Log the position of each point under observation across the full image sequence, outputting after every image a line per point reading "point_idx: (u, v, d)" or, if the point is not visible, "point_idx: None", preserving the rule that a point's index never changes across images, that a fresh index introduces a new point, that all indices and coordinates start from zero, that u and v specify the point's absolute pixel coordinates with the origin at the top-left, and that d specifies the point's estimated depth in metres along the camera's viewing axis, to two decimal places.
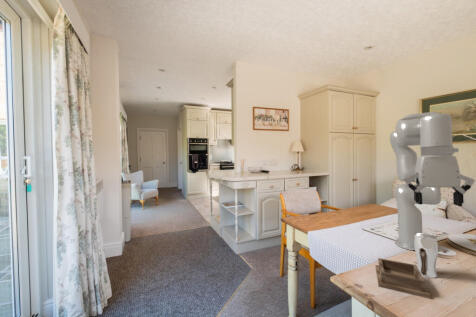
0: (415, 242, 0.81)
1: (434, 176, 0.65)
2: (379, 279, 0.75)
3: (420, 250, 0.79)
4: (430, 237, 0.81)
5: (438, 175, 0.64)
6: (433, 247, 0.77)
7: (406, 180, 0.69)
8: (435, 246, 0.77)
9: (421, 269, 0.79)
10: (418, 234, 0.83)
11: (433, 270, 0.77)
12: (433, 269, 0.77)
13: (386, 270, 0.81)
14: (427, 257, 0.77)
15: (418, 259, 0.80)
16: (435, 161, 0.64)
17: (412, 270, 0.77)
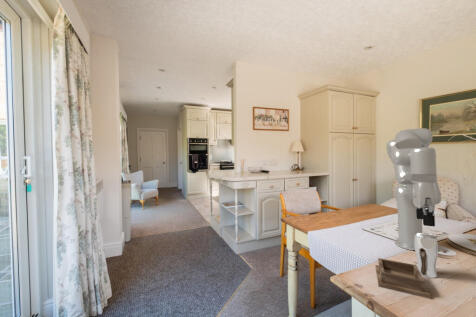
0: (415, 242, 0.81)
1: None
2: (379, 279, 0.75)
3: (420, 250, 0.79)
4: (430, 237, 0.81)
5: None
6: (433, 247, 0.77)
7: None
8: (435, 246, 0.77)
9: (421, 269, 0.79)
10: (418, 234, 0.83)
11: (433, 270, 0.77)
12: (433, 269, 0.77)
13: (386, 270, 0.81)
14: (427, 257, 0.77)
15: (418, 259, 0.80)
16: None
17: (412, 270, 0.77)
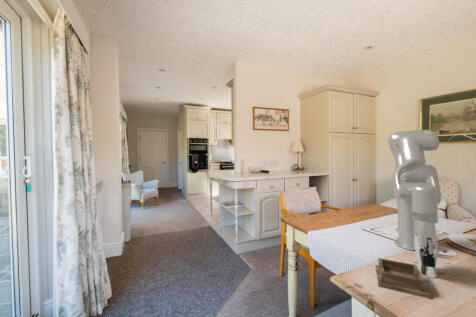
0: (415, 242, 0.81)
1: None
2: (379, 279, 0.75)
3: (420, 250, 0.79)
4: None
5: None
6: None
7: None
8: None
9: (421, 269, 0.79)
10: None
11: (433, 270, 0.77)
12: (433, 269, 0.77)
13: (386, 270, 0.81)
14: None
15: (418, 259, 0.80)
16: None
17: (412, 270, 0.77)
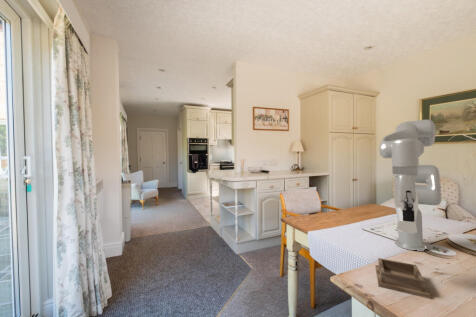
0: (395, 198, 0.77)
1: None
2: (379, 279, 0.75)
3: (400, 205, 0.75)
4: None
5: None
6: None
7: None
8: None
9: (401, 225, 0.76)
10: None
11: (413, 225, 0.74)
12: (413, 224, 0.74)
13: (386, 270, 0.81)
14: None
15: (398, 216, 0.77)
16: None
17: (412, 270, 0.77)
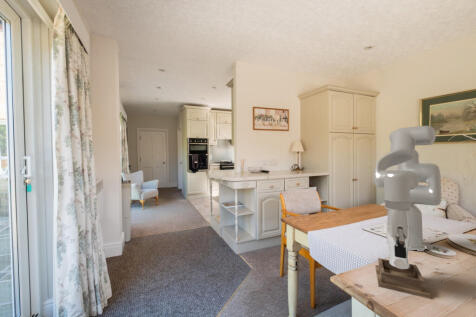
0: (387, 232, 0.76)
1: None
2: (379, 279, 0.75)
3: (392, 240, 0.74)
4: None
5: None
6: None
7: None
8: (407, 236, 0.72)
9: (393, 260, 0.75)
10: None
11: (405, 261, 0.73)
12: (405, 260, 0.73)
13: (386, 270, 0.81)
14: None
15: (390, 250, 0.76)
16: None
17: (412, 270, 0.77)
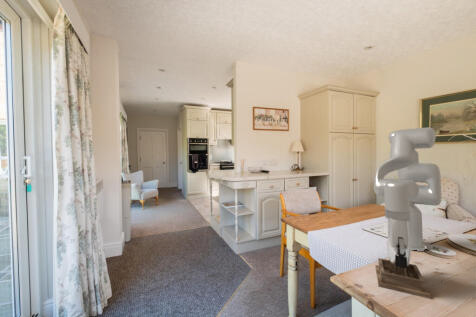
0: (388, 244, 0.77)
1: None
2: (379, 279, 0.75)
3: (392, 253, 0.74)
4: None
5: None
6: None
7: None
8: (407, 249, 0.72)
9: (393, 273, 0.75)
10: None
11: (405, 274, 0.73)
12: (405, 273, 0.73)
13: (386, 270, 0.81)
14: None
15: (391, 262, 0.76)
16: None
17: (412, 270, 0.77)
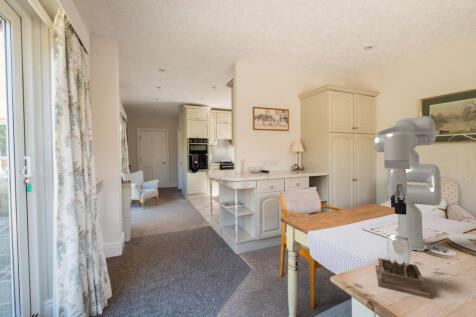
0: (388, 245, 0.76)
1: None
2: (379, 279, 0.75)
3: (392, 253, 0.74)
4: (403, 239, 0.77)
5: None
6: (405, 250, 0.72)
7: None
8: (407, 249, 0.72)
9: (393, 273, 0.75)
10: (392, 236, 0.79)
11: (405, 274, 0.73)
12: (405, 273, 0.73)
13: (386, 270, 0.81)
14: (399, 261, 0.73)
15: (391, 262, 0.76)
16: None
17: (412, 270, 0.77)
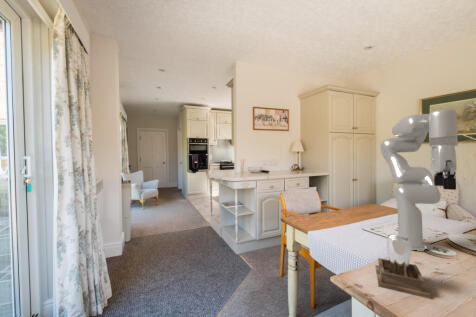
0: (388, 245, 0.76)
1: None
2: (379, 279, 0.75)
3: (392, 253, 0.74)
4: (404, 239, 0.77)
5: None
6: (405, 250, 0.72)
7: None
8: (407, 249, 0.72)
9: (393, 273, 0.75)
10: (392, 236, 0.79)
11: (405, 274, 0.73)
12: (405, 273, 0.73)
13: (386, 270, 0.81)
14: (399, 261, 0.73)
15: (391, 262, 0.76)
16: None
17: (412, 270, 0.77)
